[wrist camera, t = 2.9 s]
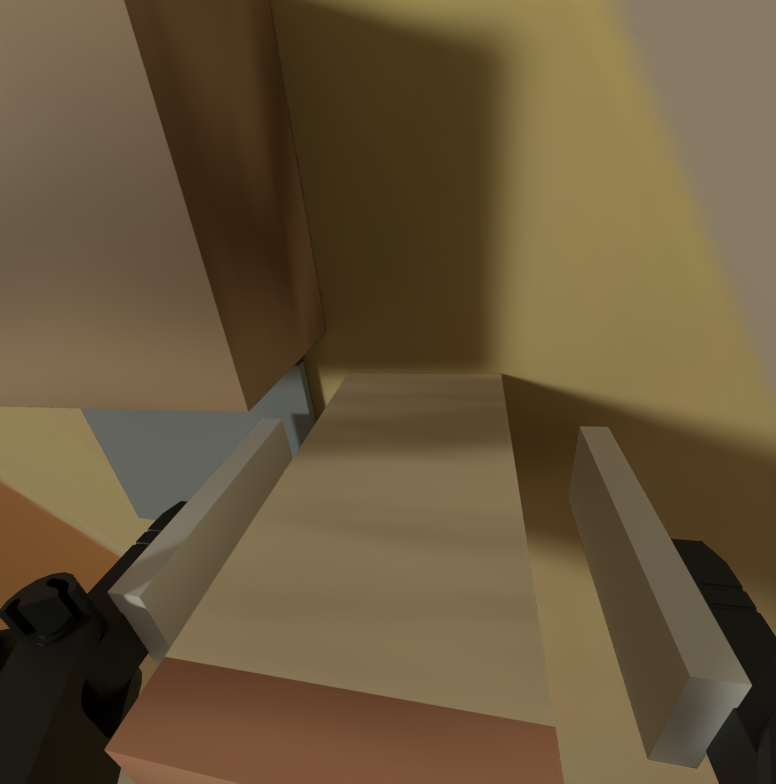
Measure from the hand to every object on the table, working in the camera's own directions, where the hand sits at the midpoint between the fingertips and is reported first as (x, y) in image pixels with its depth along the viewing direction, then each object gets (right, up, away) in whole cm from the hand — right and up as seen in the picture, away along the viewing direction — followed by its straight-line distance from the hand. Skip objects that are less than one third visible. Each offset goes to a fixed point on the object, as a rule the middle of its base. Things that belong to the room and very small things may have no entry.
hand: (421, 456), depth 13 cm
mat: (-9, 0, +3) cm, 9 cm away
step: (-9, +8, -1) cm, 12 cm away
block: (0, +1, +1) cm, 1 cm away
